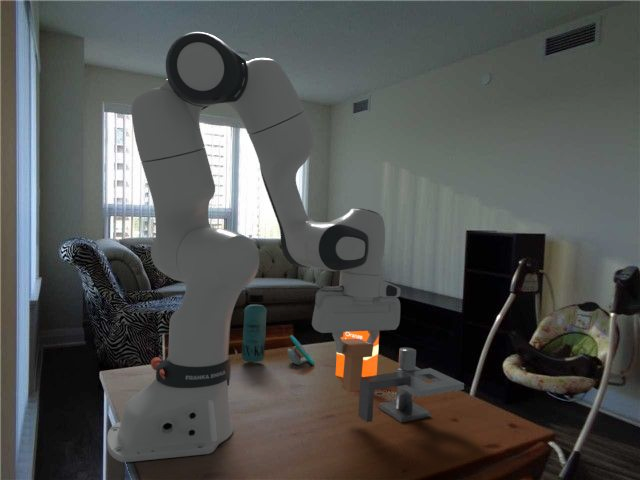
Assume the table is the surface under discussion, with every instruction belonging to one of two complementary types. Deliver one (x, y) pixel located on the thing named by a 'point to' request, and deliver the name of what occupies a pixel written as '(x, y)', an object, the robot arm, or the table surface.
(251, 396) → the table surface
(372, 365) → the orange juice
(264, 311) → the beverage bottle
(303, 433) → the table surface
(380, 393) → the mounting bracket
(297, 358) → the ornament
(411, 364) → the grey windowed jig
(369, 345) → the brown block
